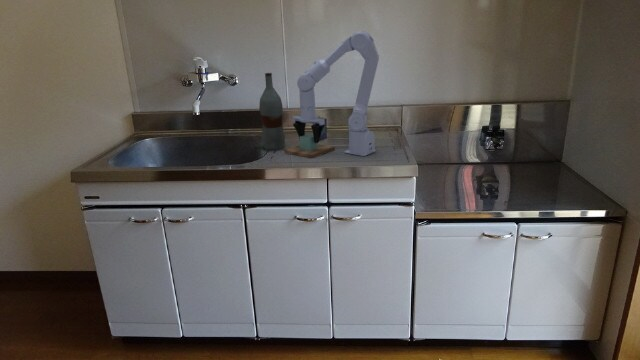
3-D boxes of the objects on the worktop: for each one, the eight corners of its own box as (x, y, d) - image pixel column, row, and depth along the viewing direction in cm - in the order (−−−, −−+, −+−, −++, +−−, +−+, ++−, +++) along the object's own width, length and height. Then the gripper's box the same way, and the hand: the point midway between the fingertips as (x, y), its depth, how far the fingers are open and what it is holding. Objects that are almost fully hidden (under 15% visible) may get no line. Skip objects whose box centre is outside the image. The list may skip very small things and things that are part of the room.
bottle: (260, 150, 178) (254, 74, 168) (264, 144, 187) (258, 72, 177) (283, 150, 177) (278, 73, 168) (286, 144, 186) (281, 71, 176)
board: (334, 149, 174) (334, 146, 174) (311, 158, 164) (311, 154, 164) (308, 145, 183) (308, 142, 183) (284, 153, 173) (284, 149, 173)
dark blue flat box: (316, 142, 187) (315, 117, 184) (311, 141, 189) (309, 117, 185) (328, 137, 194) (327, 113, 191) (322, 137, 196) (322, 113, 192)
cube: (318, 148, 173) (317, 135, 172) (309, 150, 170) (309, 138, 168) (308, 146, 176) (308, 134, 175) (300, 149, 173) (299, 136, 171)
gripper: (286, 106, 170) (288, 141, 174) (315, 109, 161) (317, 145, 165) (299, 104, 175) (300, 137, 179) (327, 106, 166) (328, 141, 170)
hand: (309, 141), depth 172 cm, fingers open, 7 cm apart
